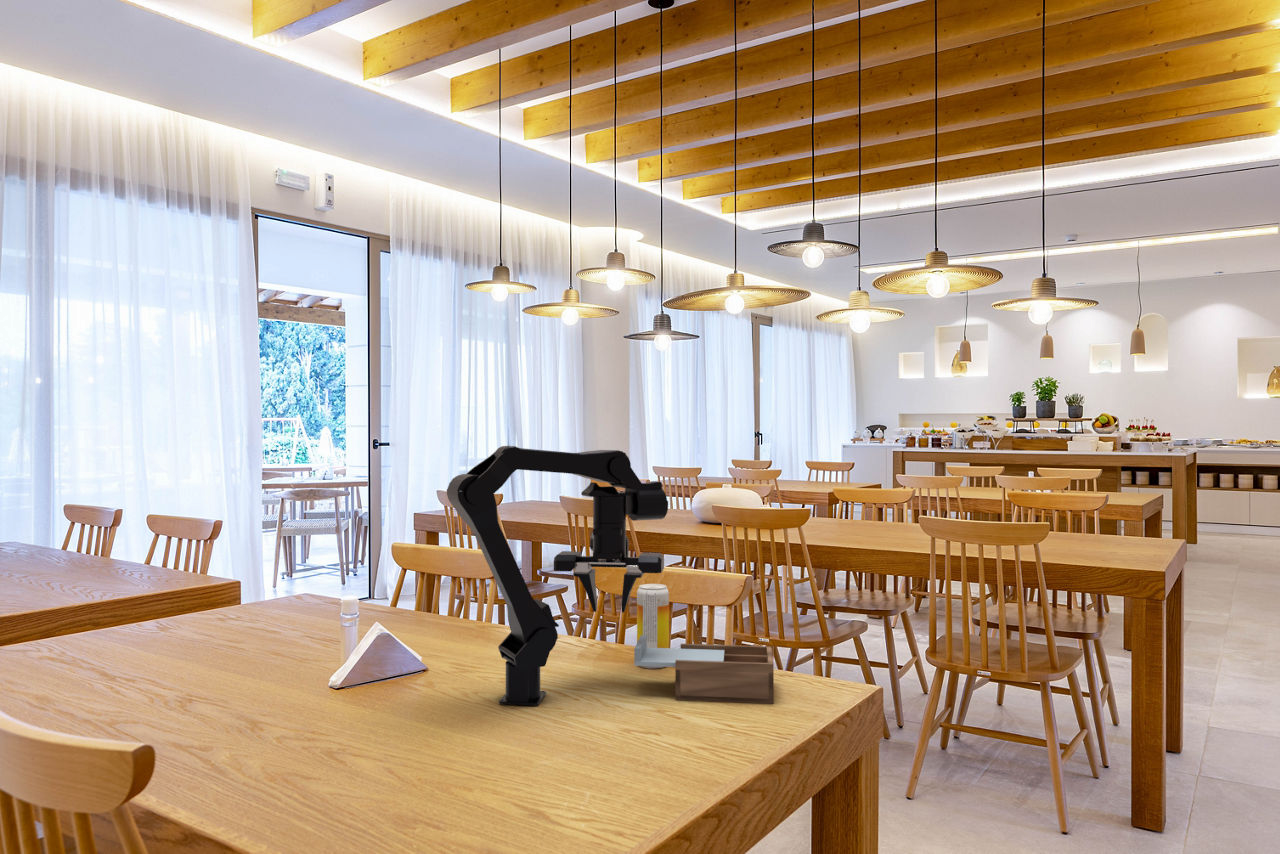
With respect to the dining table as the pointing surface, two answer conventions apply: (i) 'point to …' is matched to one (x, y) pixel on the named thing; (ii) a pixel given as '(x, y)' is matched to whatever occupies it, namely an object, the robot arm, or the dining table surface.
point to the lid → (671, 655)
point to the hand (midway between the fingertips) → (609, 611)
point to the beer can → (653, 616)
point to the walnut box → (727, 675)
